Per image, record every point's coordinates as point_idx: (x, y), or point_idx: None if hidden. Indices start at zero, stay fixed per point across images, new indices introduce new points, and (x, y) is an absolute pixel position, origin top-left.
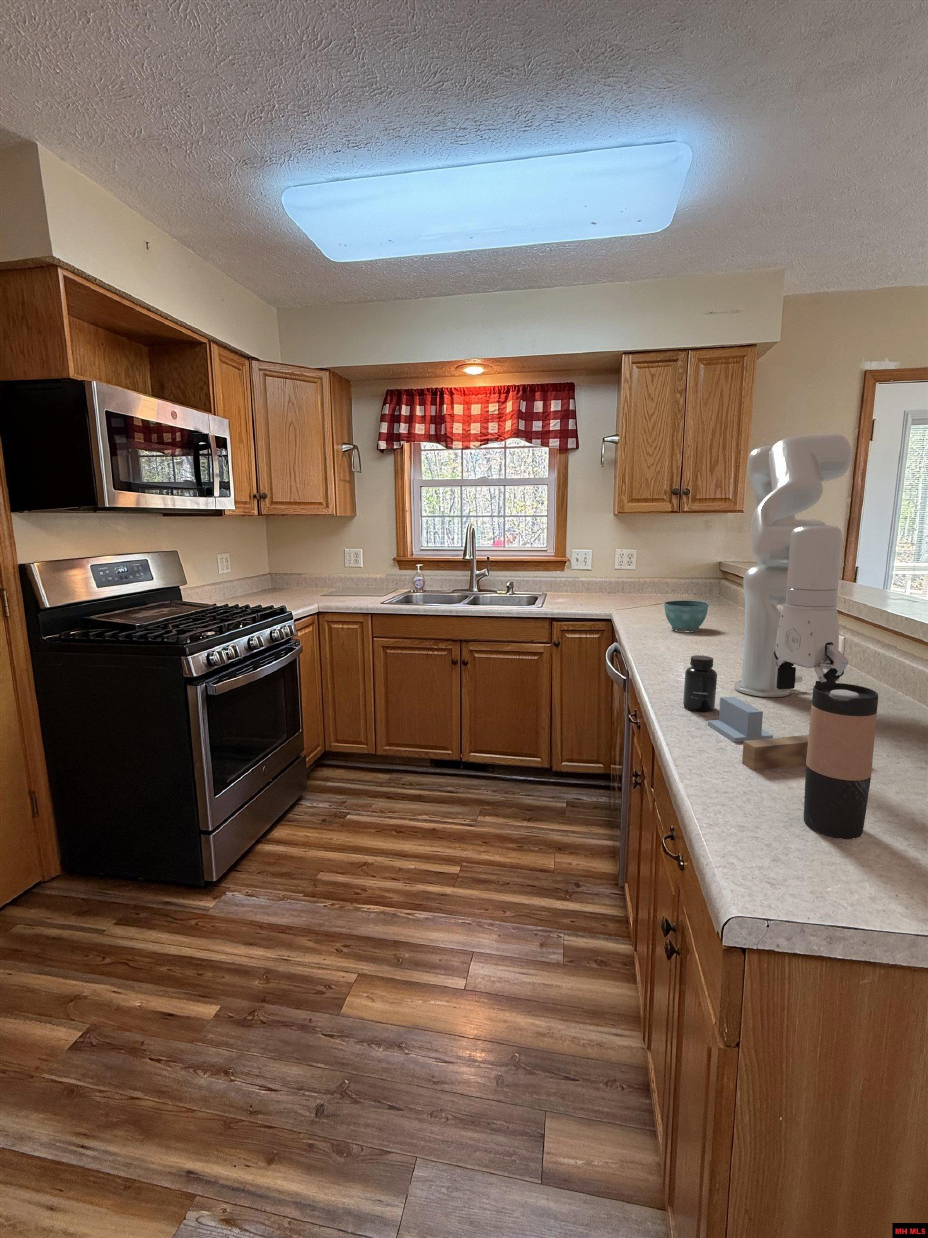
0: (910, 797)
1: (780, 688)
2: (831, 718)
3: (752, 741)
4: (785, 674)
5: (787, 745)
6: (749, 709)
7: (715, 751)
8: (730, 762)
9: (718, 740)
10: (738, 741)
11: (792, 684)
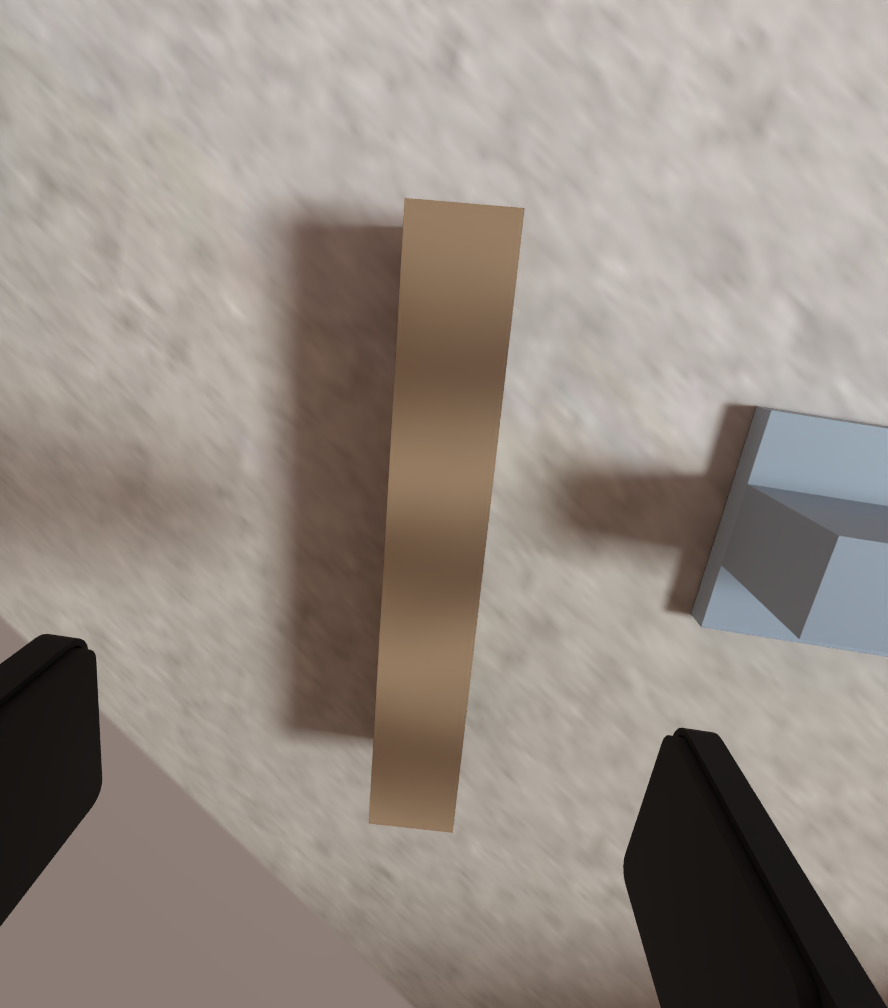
0: None
1: (667, 743)
2: None
3: (494, 263)
4: (725, 958)
5: (392, 447)
6: (885, 591)
7: (708, 204)
8: (546, 177)
9: (829, 344)
10: (751, 430)
11: (639, 891)
